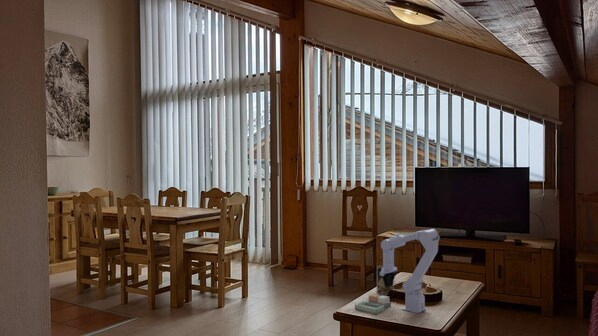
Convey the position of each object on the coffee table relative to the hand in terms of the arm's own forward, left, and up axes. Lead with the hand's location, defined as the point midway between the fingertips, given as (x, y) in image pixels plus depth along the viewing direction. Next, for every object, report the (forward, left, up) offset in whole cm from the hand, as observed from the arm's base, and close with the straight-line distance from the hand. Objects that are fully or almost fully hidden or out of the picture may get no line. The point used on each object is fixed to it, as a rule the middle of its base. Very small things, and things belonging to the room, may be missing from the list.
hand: (388, 286), depth 271 cm
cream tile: (0, +6, -7) cm, 9 cm away
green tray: (+3, +15, -9) cm, 18 cm away
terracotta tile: (+6, +6, -7) cm, 11 cm away
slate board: (+3, +7, -9) cm, 12 cm away
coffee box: (+10, -13, -10) cm, 19 cm away
